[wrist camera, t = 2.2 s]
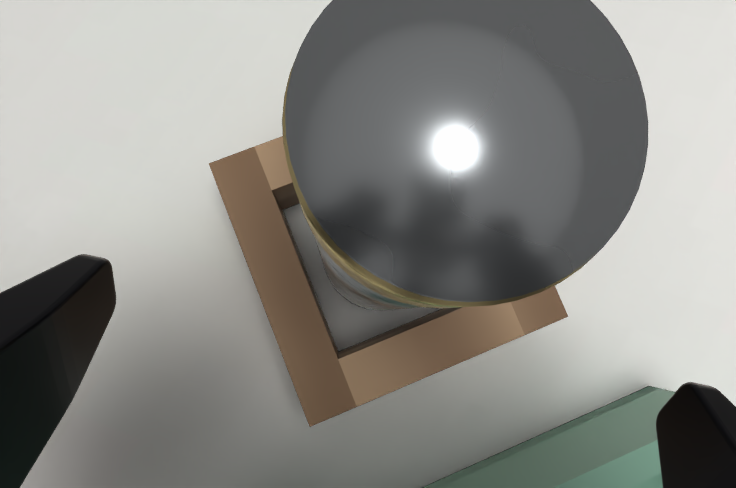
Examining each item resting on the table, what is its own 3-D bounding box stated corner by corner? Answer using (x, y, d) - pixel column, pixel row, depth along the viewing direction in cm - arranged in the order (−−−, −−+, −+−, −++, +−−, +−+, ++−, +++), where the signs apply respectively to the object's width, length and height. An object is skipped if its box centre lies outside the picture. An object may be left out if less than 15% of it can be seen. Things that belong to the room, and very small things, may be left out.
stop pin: (347, 330, 18) (366, 367, 6) (303, 218, 19) (224, 12, 6) (458, 284, 19) (714, 221, 6) (412, 176, 19) (559, -103, 6)
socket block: (314, 408, 18) (309, 426, 15) (229, 187, 19) (208, 163, 16) (532, 316, 19) (568, 316, 16) (441, 107, 20) (459, 70, 17)
